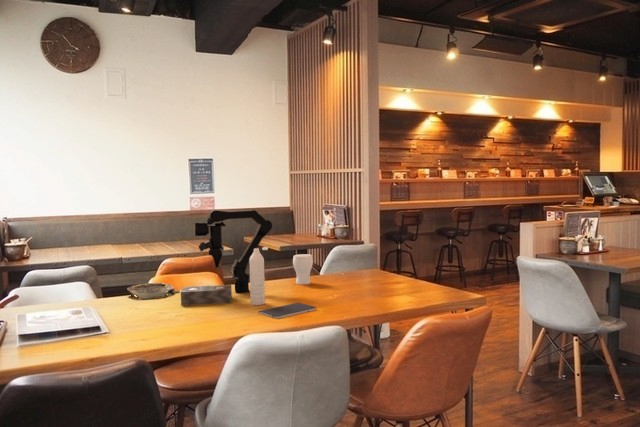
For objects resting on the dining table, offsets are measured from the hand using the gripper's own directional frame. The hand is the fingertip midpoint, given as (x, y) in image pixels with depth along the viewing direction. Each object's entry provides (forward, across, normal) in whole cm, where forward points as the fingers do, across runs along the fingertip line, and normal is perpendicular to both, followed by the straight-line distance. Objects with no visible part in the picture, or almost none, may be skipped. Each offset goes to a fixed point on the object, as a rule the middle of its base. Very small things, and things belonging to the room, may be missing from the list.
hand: (216, 267), depth 261 cm
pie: (+14, -7, -33) cm, 37 cm away
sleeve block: (+13, +16, -4) cm, 21 cm away
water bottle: (+13, +26, +20) cm, 35 cm away
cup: (+13, -16, +44) cm, 49 cm away
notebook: (+14, +43, +31) cm, 55 cm away
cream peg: (+13, +16, -10) cm, 23 cm away
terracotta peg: (+13, +16, +2) cm, 21 cm away
